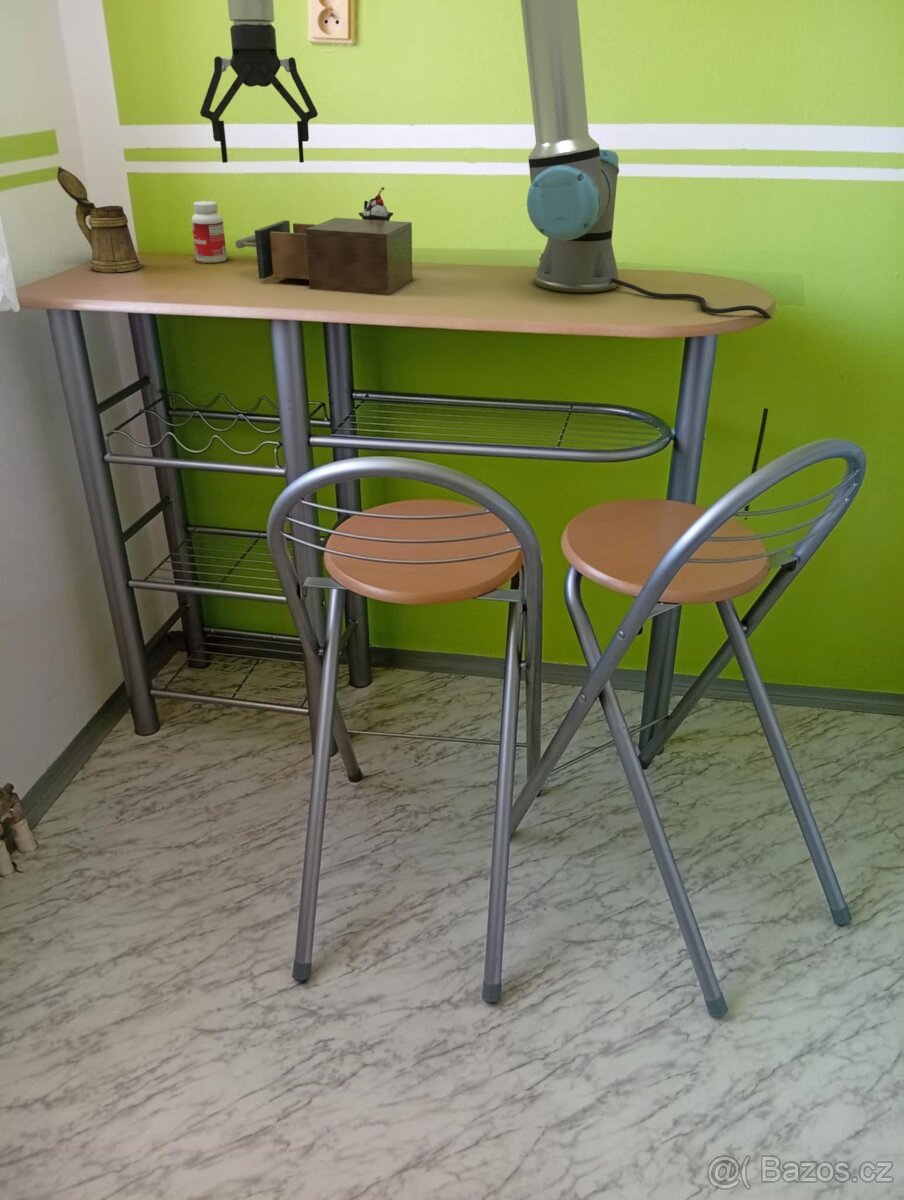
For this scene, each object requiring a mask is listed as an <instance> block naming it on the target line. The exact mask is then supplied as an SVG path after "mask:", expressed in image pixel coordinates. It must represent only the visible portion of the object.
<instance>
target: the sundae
mask: <svg viewBox="0 0 904 1200" xmlns="http://www.w3.org/2000/svg"><path fill="white" fill-rule="evenodd" d="M384 190H385V187H384V186H383V187H382V186H381V189H380V190H379V191H378V193H377V195H375V197H373V198H371V199H369V200H368V201H367V200H364V202H363V211H362V212H358V215H359V216H360V217H361V219H365V220H382V221H391V220H390V219H391V217H392V216H394V213H393V211H392V212H390V211H389V210H388V208H387V206H386V205H385V203H384V200H383V198H382V196H381V193H382V192H383V191H384Z"/></svg>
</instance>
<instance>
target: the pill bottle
mask: <svg viewBox="0 0 904 1200" xmlns="http://www.w3.org/2000/svg"><path fill="white" fill-rule="evenodd" d="M192 206H193V211H194V212H195V213H194V214H193V215H192V217H191V228H192V237H193V245H194V253H195V260H196V261H197V262H199V263H202V264H218V263H224V262H225V261H227V257H228V255H227V245H226V237H225V228H224V219H223V216H222V215H221V214H219V213H218V210H219V206H218V202H217V201H211V200H210V201H209V200H201V201H194V202H192Z"/></svg>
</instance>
